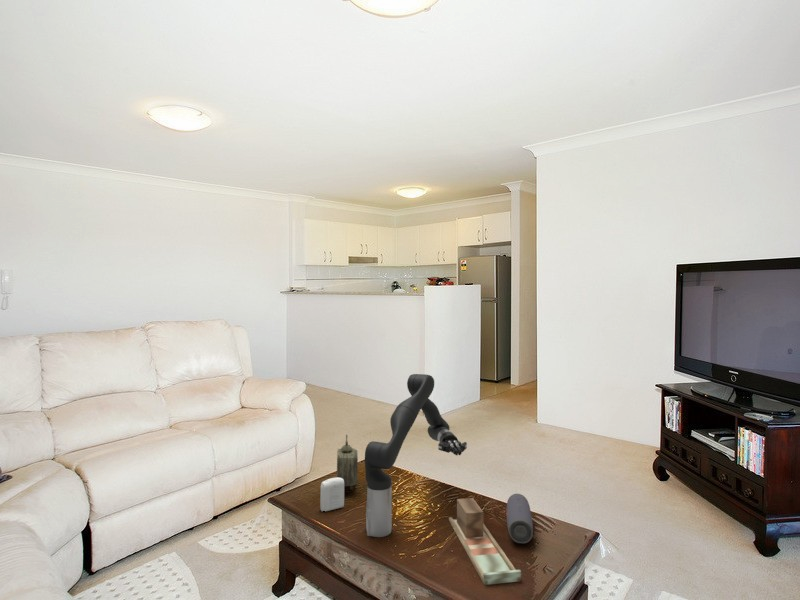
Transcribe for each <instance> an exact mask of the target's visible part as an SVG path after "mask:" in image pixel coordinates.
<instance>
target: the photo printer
mask: <svg viewBox="0 0 800 600" xmlns="http://www.w3.org/2000/svg"><path fill="white" fill-rule="evenodd" d="M319 500H320V501H319V503H320V506H319V507H320V511H321V512H323V511H325V512H329V511H332V510H336V509H337V510H338V509H340V508H344V506H345V487H344V480H343V479H342V478H338V477H337V476H336V477H331V478H327V479H326V480H323V481H322V482H321V483H320V497H319Z"/></svg>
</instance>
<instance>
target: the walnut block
mask: <svg viewBox="0 0 800 600" xmlns="http://www.w3.org/2000/svg"><path fill="white" fill-rule="evenodd" d="M456 520H457V523H458V525H459V527H460V528H461V530H462V532H463V533H464V535H465V537H466V538H472V537H483V523H484V511H483V510H482V508H481V507H480V505H479V504H478V503H477V501H476V500H475V499H474V498H473V497H468V498H457V499H456Z"/></svg>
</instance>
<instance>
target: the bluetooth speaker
mask: <svg viewBox="0 0 800 600" xmlns="http://www.w3.org/2000/svg"><path fill="white" fill-rule="evenodd" d="M505 515H506V522H507V523H506V524H507V530H508V534H509V537H510V538H511V540H513V541H514V542H515V543H517V544H527V543H529V542H530V541H531V540H532V539H533V535H534V524H533V516H532V511H531V507H530V504H529V501H528V498H527V497H526V496H525V495H523V494H521V493H514V494H511V495H510V496H509V497H508V499H507V502H506V513H505Z"/></svg>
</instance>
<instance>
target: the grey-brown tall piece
mask: <svg viewBox="0 0 800 600" xmlns="http://www.w3.org/2000/svg"><path fill="white" fill-rule="evenodd" d="M348 443H349V442H348V434H346V435H345V444H344V445H342V446H341V448H337V451H336V453H337V454H336V478H337V477H338V478H342V479H343V480H344V488H345V487H347V486H350V487H349V490H354V486H355V485H356V484H358V481H359V480H358V476H359V475H358V470H359V469H358V468H359V467H358V466H359V464H358V460H359V459H358V458H359V457H358V455H359V454H358V449H356V448H353V447H352V446H351V445H350V444H348Z"/></svg>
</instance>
